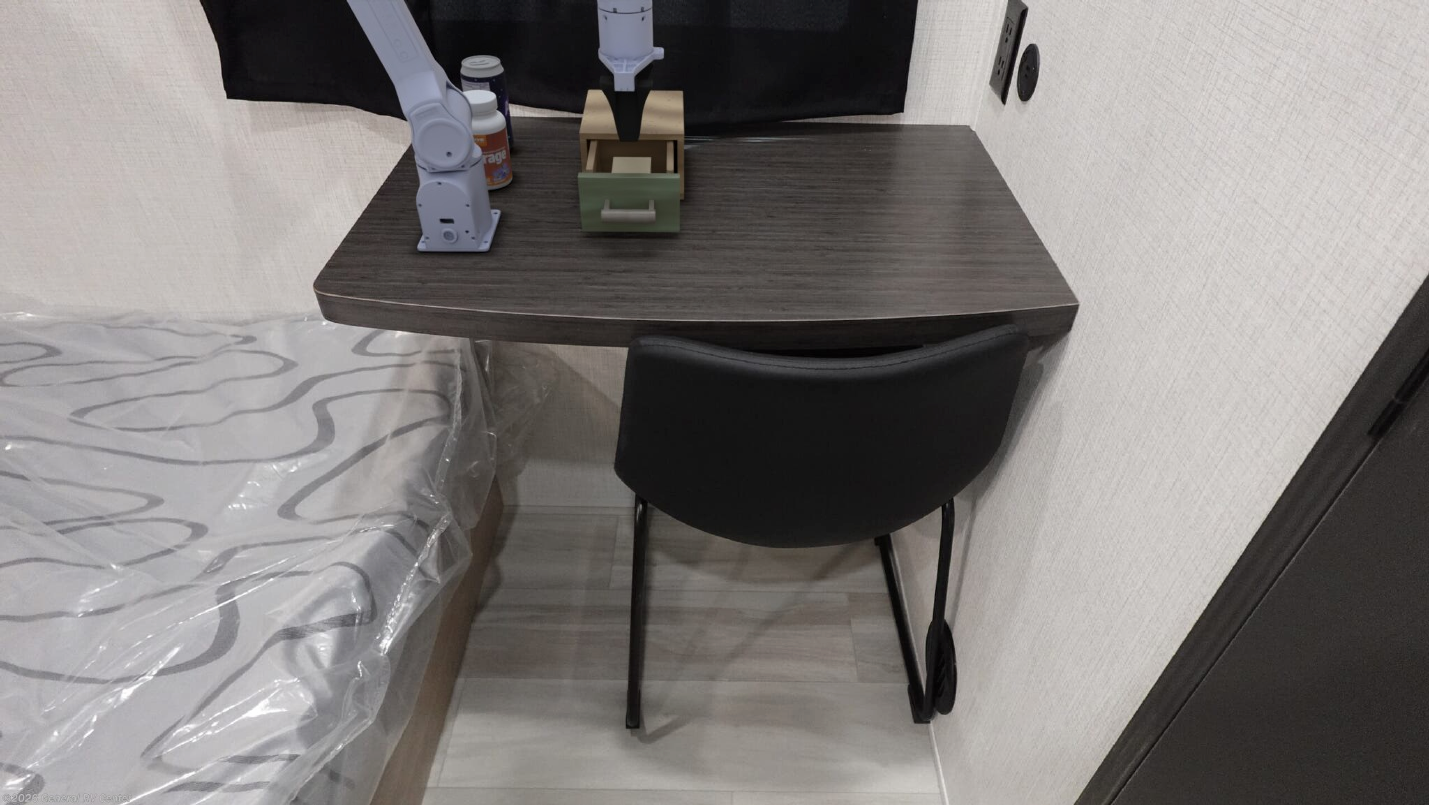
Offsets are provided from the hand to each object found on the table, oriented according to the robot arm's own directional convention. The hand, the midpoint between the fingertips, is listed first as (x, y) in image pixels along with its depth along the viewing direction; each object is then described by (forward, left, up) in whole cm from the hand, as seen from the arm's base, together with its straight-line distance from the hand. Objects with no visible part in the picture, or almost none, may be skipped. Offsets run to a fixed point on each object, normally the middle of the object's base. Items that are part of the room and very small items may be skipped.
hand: (629, 132), depth 96 cm
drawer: (-1, 0, -9) cm, 10 cm away
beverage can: (+19, +20, -11) cm, 30 cm away
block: (0, 0, -8) cm, 8 cm away
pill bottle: (+9, +19, -11) cm, 24 cm away
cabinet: (+12, 0, -10) cm, 16 cm away
